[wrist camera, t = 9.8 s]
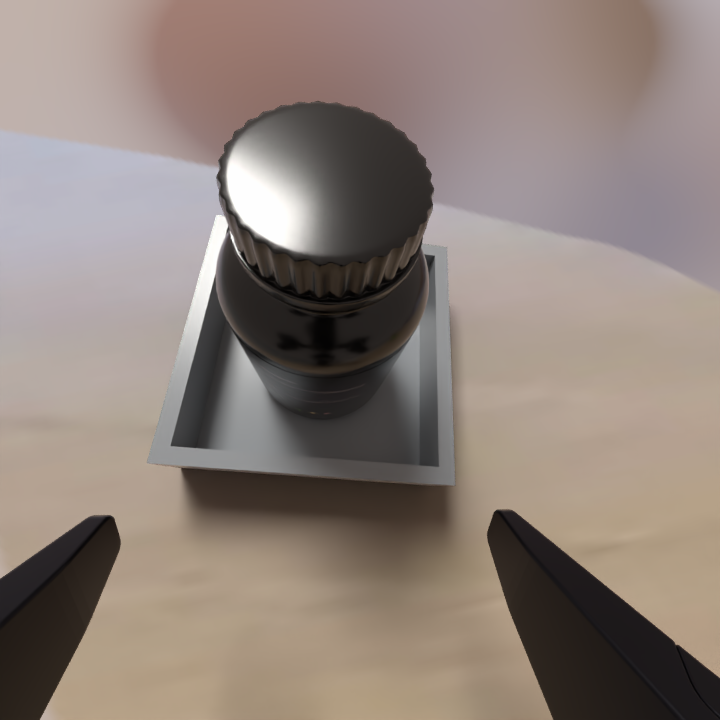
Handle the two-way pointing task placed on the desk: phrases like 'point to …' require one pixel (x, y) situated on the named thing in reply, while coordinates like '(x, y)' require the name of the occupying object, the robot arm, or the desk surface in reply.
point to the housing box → (297, 433)
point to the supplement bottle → (323, 251)
